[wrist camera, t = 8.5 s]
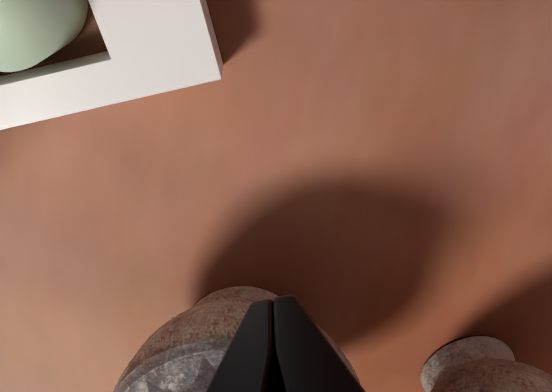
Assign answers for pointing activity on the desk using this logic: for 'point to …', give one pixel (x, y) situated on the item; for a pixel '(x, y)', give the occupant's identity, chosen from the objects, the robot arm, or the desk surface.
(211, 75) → the button console
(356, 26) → the desk surface
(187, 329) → the pottery
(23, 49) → the sage button
